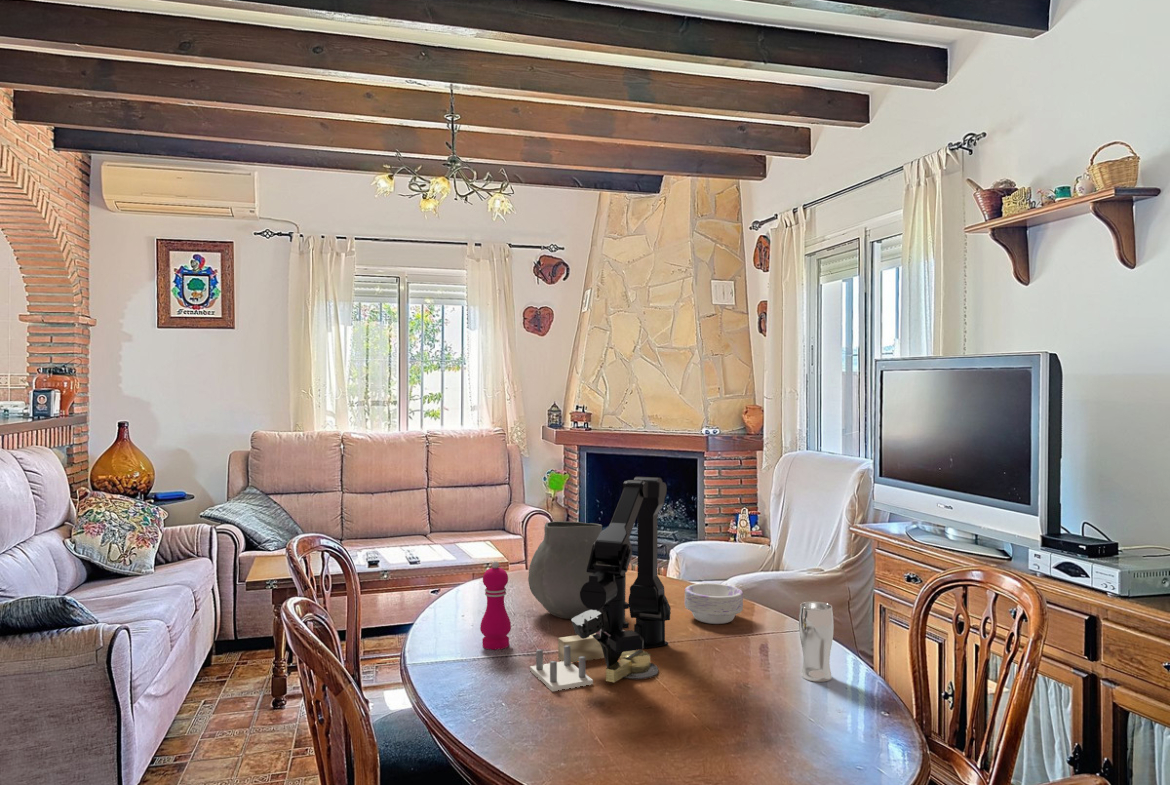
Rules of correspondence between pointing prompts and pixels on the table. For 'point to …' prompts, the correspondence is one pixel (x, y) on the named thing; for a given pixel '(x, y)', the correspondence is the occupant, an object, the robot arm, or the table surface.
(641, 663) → the brass lever handle
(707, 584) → the paper bowls
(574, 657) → the beech bar
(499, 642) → the pepper mill
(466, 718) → the table surface
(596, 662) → the table surface
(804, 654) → the beer glass
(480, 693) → the table surface
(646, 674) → the base
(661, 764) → the table surface
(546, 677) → the peg rack
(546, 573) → the ceramic pot
